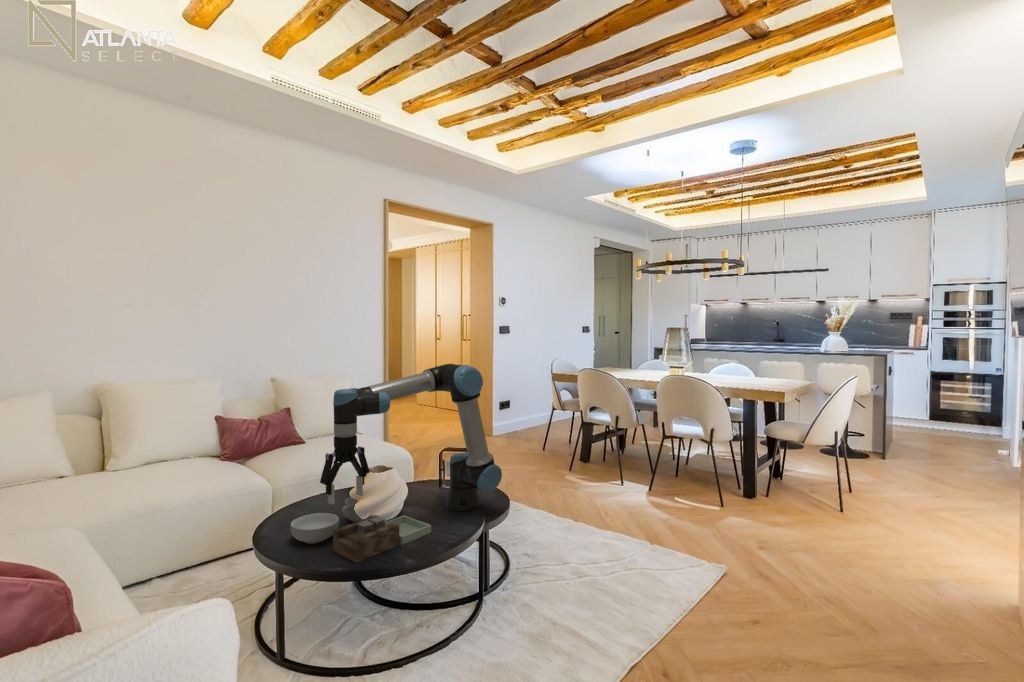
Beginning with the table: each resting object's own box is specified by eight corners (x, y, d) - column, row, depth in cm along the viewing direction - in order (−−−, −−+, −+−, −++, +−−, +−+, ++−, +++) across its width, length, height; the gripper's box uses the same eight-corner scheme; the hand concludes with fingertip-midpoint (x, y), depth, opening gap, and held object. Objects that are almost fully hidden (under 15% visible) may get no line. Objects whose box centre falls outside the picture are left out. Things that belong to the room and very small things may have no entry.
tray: (404, 522, 208) (404, 515, 208) (431, 532, 198) (431, 525, 198) (375, 533, 197) (375, 525, 197) (402, 545, 187) (402, 537, 187)
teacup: (362, 512, 218) (362, 493, 218) (377, 518, 212) (377, 499, 211) (332, 522, 208) (332, 502, 207) (347, 529, 201) (347, 508, 200)
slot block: (375, 534, 196) (375, 515, 195) (399, 544, 187) (399, 524, 187) (333, 551, 182) (332, 530, 181) (356, 562, 173) (356, 540, 173)
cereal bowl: (348, 534, 196) (348, 516, 196) (317, 552, 181) (316, 532, 180) (313, 527, 202) (313, 509, 202) (280, 544, 187) (280, 525, 187)
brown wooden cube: (366, 531, 187) (366, 520, 186) (373, 534, 184) (373, 523, 184) (357, 534, 183) (357, 523, 183) (364, 537, 181) (364, 526, 181)
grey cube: (378, 527, 190) (378, 516, 190) (385, 529, 188) (385, 519, 188) (369, 530, 187) (369, 519, 187) (376, 533, 185) (375, 522, 185)
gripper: (367, 428, 187) (367, 488, 188) (308, 439, 169) (308, 505, 170) (380, 431, 183) (380, 492, 183) (320, 442, 165) (321, 511, 166)
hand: (345, 499), depth 177 cm, fingers open, 10 cm apart
